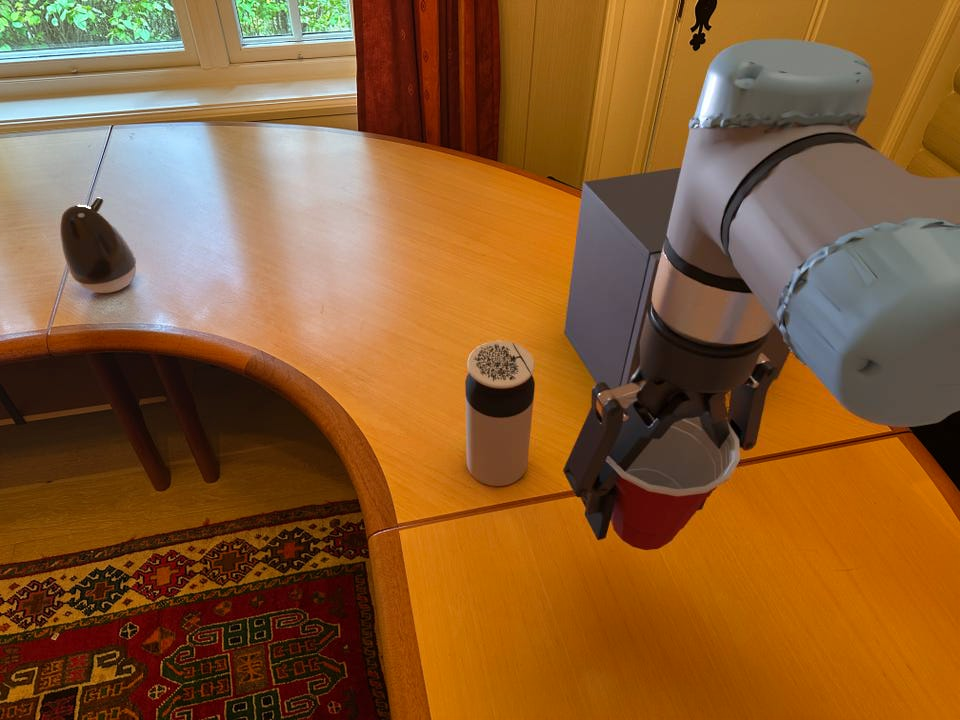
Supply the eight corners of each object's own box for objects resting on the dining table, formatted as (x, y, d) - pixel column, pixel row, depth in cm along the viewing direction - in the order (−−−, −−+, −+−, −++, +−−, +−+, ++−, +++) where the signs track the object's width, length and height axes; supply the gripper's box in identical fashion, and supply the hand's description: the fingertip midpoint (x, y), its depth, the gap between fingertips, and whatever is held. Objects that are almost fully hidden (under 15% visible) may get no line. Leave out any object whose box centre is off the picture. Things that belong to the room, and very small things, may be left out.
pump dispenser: (156, 272, 111) (123, 196, 101) (117, 305, 103) (77, 227, 93) (110, 263, 113) (73, 188, 103) (68, 295, 106) (23, 218, 95)
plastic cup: (631, 454, 61) (654, 366, 52) (725, 526, 54) (769, 440, 46) (555, 515, 55) (568, 428, 47) (651, 602, 49) (685, 520, 41)
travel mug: (472, 492, 76) (472, 392, 64) (461, 443, 82) (459, 343, 69) (534, 482, 77) (545, 382, 65) (519, 435, 83) (526, 334, 70)
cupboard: (771, 372, 92) (842, 217, 74) (613, 410, 86) (649, 252, 68) (705, 303, 104) (752, 156, 87) (563, 332, 99) (583, 181, 81)
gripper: (808, 253, 44) (722, 451, 59) (530, 309, 39) (515, 508, 54) (889, 315, 38) (772, 514, 54) (579, 388, 34) (547, 584, 49)
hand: (643, 511), depth 54 cm, fingers closed on plastic cup, 9 cm apart
